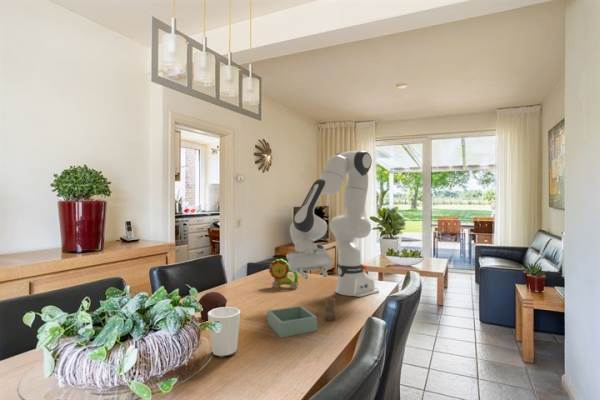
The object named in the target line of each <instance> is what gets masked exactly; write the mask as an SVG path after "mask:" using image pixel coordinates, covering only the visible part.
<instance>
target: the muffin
mask: <svg viewBox="0 0 600 400" xmlns="http://www.w3.org/2000/svg"><path fill="white" fill-rule="evenodd" d="M198 302H199V303H200V304H201V305H202V308H203V311H201V312H200V311H199V312H200V319H201V321H202V320H203V322H205V321H208V312H209V311H211V310H213V309H216V308H220V307H227V302H228V300H227V298H226V297H225V296H224V295H223V294H221V293H220V292H218V291H209V292H206V293H205V294H203V295H202V296H201V297H200V299H199V300H198Z"/></svg>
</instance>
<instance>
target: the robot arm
mask: <svg viewBox="0 0 600 400" xmlns="http://www.w3.org/2000/svg"><path fill="white" fill-rule="evenodd" d="M372 162H373V160H372V156H371V154H370V153H369V152H368V151H365V150H349V151H344V152H338V153H336V154H334V155H331V156H330V157H329V158H328V160H327V162H326V164H325V166H324V168H323V171H322V173H321V175H320V177H319V179H317V180H315V181H314V182H313V183H312V185H311V187H310V189H309V191H308V193H307V194H306V196H305V198H304V200H303V202H302V204H301V205H300V207H299V209H298V210H297V211H296V212H295V214H294V216H293V220H292V221H293V222H292V223H291V224H290V225H289V234H290V239H291V241H292V243H293V245H294V249H295V250H294V251H293V252H291V251H288V252H287V253H286V255H285V259H286V261H287V263H288V264H289V269H290V272H291V271H292V272H291V273H293V272H297V273H299V274H300V275H301V277H302V278H303V280H307V279H308V278H309V275H308V273H305V272H306V271H315V270H317V271H318V270H322V271H323V273H322V274H321V275H322V276H323V278H326V277H328V272H327V271H328V269H331V268H332V266H333V265H334V261H333V258H332V257H331V255H330V253H329V252H328V251H327V250H326V249H327V248H326V246H325V245H322V244H319V243H315V242H316V241H318V240H320V239H321V238H323V237H325V235H326V234H327V231H328V229H330V231H331V233H332V234H333V236H334V239H335V242H336V245H337V248H338V250H337V251H338V263H337V275H338V276H337V282H336V283H337V284H336V288H335V293H336V294H339V295H342V296H349V297H350V296H351V297H352V296H353V297H359V298H360V297H365V296H369V295H373V294H377V293H379V292H380V289H379V288H378V287H376V286H375V281H374V279H373V278H372V277H371V276H370V275H369V274H368V273H366V272H365V271H366V270H367V269H368V265H365V264H361V247H360V246H358V244H357V243H356V241H355V239H363V238H366V237H368V236H369V235H370V233H371V230H372V225H371V222H370V220H369V219H368V217H367V215H366V200H367V194H368V187H369V174H368V173H369V171H370V169H371V166H372ZM346 174H347V176H348V179H347V183H346V185H345V191H344V196H343V201H342V202H343V205H344V206H345V208H346V215H337V216H334V217H332V218H331V219H330V221H329V225H328V223H327V222H326V220H324V219H323V218H321V217H320V216H318V215H316V214H315V209H316V207H317V205H318V203H319V201H320V199H321V197H322V196H323V195H334V194H337V193H338V192H340V190H341V189H342V187H343V184H344V181H345V179H346ZM328 226H329V228H328ZM364 270H365V271H364Z"/></svg>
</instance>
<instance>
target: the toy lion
mask: <svg viewBox="0 0 600 400" xmlns="http://www.w3.org/2000/svg"><path fill="white" fill-rule="evenodd" d="M268 268H269V270H268V272H269V274H270V275H271V277H272V278H273V279H274V281H272V287H273V288H275V289H277V288H279V287H281V286H283V285H288V286H289V287H290V288H291V289H292V290H295V289H297V288H298V286H299V274H298V273H299V272H298V271H297V272H292V271H290V269H289V264H288V260H285V259H283V258H280V259H278V258H277V259H275V260H273V261H272V262H270V265H269V267H268ZM290 272H291V273H293V274H294V279H293V278H291V277H290V276H288V274H289V273H290Z"/></svg>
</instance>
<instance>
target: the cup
mask: <svg viewBox="0 0 600 400" xmlns="http://www.w3.org/2000/svg"><path fill="white" fill-rule="evenodd" d="M240 318H241V310H240V309H239V308H238V307H234V306H226V307H220V308H216V309H213V310H211V311H209V312H208V320H209V321H219V322H220V323H221V324H222V326H223V329H222V331H221V332H220V333H215V332H213V331H211V330H209V338H210V347H212V348H213V349H214V355H213V356H214V357H215V356H217V357H218V358H220V359H223V358H225V357H226V356H229V357H232V356H234V355H235V353H236V352H237V350H238V342H239V328H240V321H241V319H240Z"/></svg>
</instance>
